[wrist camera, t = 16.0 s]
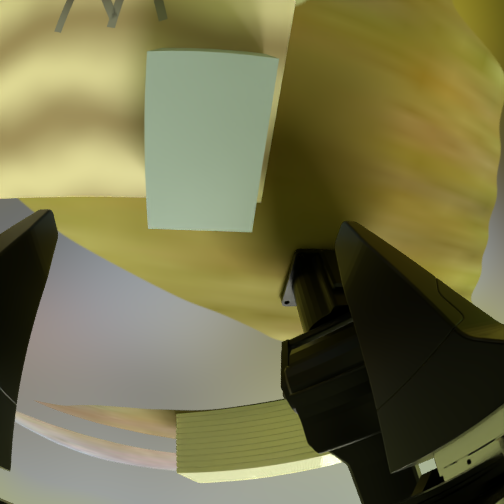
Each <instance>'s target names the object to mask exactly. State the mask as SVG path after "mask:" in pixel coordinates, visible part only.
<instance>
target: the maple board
mask: <svg viewBox="0 0 504 504" xmlns="http://www.w3.org/2000/svg"><path fill="white" fill-rule="evenodd" d="M295 3H296V0H0V199H1V198H30V197H146V180H145V81H146V61H147V51H151V50H155V49H160V48H209V49H225V50H237V51H247V52H256V53H264V54H267V55H270V56H273V57H276V58H278V59H279V63H278V69H277V76H276V82H275V88H274V94H273V101H272V107H271V113H270V120H269V126H268V132H267V139H266V145H265V152H264V158H263V164H262V171H261V177H260V184H259V190H258V196H257V202H258V203H261V199H262V194H263V188H264V182H265V176H266V171H267V165H268V159H269V153H270V147H271V142H272V136H273V130H274V124H275V119H276V113H277V107H278V101H279V95H280V90H281V84H282V78H283V72H284V67H285V61H286V55H287V49H288V43H289V38H290V32H291V26H292V20H293V15H294V9H295Z"/></svg>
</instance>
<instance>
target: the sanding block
mask: <svg viewBox="0 0 504 504" xmlns="http://www.w3.org/2000/svg"><path fill="white" fill-rule="evenodd" d="M278 63H279V59H278V58H276V57H273V56H270V55H267V54H264V53H256V52H247V51H237V50H225V49H209V48H160V49H155V50H151V51H147V61H146V81H145V180H146V201H147V217H148V229H176V230H207V231H234V232H252V229H253V222H254V216H255V209H256V203H257V196H258V190H259V184H260V177H261V171H262V164H263V158H264V152H265V145H266V139H267V132H268V126H269V120H270V113H271V107H272V101H273V94H274V88H275V82H276V76H277V69H278Z"/></svg>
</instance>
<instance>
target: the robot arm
mask: <svg viewBox="0 0 504 504" xmlns="http://www.w3.org/2000/svg"><path fill="white" fill-rule="evenodd" d="M57 239H58V231H57V227H56V223H55V219H54V215H53V212H52V211H51V210H49V209H44V210H38V211H37V212H35V213H33V214H32V215H30V216H28V217H27V218H25V219H24V220H22V221H20V222H19V223H17V224H15V225H14V226H12V227H11V228H9V229H8V230H6V231H4V232H3V233H1V234H0V468H2V469H5V470H7V471H10V468H11V454H12V439H13V430H14V421H15V413H16V404H17V398H18V392H19V386H20V381H21V375H22V370H23V365H24V361H25V356H26V352H27V347H28V343H29V339H30V335H31V331H32V328H33V324H34V320H35V317H36V313H37V310H38V307H39V303H40V300H41V297H42V294H43V291H44V288H45V284H46V281H47V278H48V274H49V270H50V266H51V262H52V258H53V254H54V250H55V246H56V243H57ZM301 254H302V256H299V255H301ZM281 302H282V305H283V306H297V309H298V313H299V317H300V320H301V324H302V328H303V332H304V334H301V335H299V336H297V337H295V338H293V339H290V340H286V341H283V342H282V351H281V389H282V390H283V397H284V399H286V400H287V401H288V403H289V405H290V407H291V408H292V410H293V411H294V412H295V413H296V414H298V416H299V418H300V420H301V423H302V427H303V430H304V433H305V437H306V440H307V443H308V444H309V446H310V447H311V448H313V449H314V450H315V451H316V452H317V453H318V454H322V453H325V452H329V453H331V454H332V455H334V456H335V457H336V458H338V459H339V460H341V461H342V462H344V463H345V464H346V465H347V466H348V468H349V471H350V473H351V476H352V479H353V481H354V484H355V487H356V489H357V492H358V495H359V498H360V500H361V503H362V504H504V324H501V323H499V322H498V321H496V320H494V319H493V318H492V317H490V316H489V315H488V314H486V313H485V312H483V311H482V310H481V309H479V308H478V307H476V306H475V305H473V304H472V303H471V302H469V301H468V300H466V299H465V298H464V297H462V296H461V295H459V294H458V293H456V292H455V291H454V290H452V289H451V288H450V287H448V286H447V285H446V284H444V283H443V282H442V281H440V280H439V279H438V278H436V277H435V276H433V275H432V274H431V273H429V272H428V271H427V270H425V269H424V268H423V267H421V266H420V265H418V264H417V263H416V262H414V261H413V260H411V259H410V258H409V257H407V256H406V255H404V254H403V253H401V252H400V251H399V250H397V249H396V248H394V247H393V246H391V245H390V244H388V243H387V242H385V241H384V240H383V239H381V238H380V237H378V236H377V235H375V234H374V233H372V232H371V231H369V230H368V229H366V228H365V227H363V226H362V225H360V224H358V223H357V222H353V221H344V222H343V223H342V225H341V227H340V230H339V233H338V236H337V239H336V242H335V250H313V249H299V250H297V251H295V253H294V256H293V260H292V263H291V267H290V270H289V274H288V278H287V281H286V285H285V288H284V292H283V295H282V298H281ZM432 458H434V459H435V463H436V466H437V468H436V469H434V470H431V471H430V472H427V473H425V474H423V475H421V472H420V468H419V466H418V464H419V463H422V462H424V461H427V460H429V459H432ZM0 504H13V503H10V502H8V501H5V500H3V499H1V498H0Z"/></svg>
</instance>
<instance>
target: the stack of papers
mask: <svg viewBox="0 0 504 504" xmlns="http://www.w3.org/2000/svg"><path fill="white" fill-rule="evenodd" d="M243 406H244V407H238V406H237V408H231V407H229V408H230V409H222V408H221V409H222V410H213V411H204V412H193V413H181V414H176V418H177V419H176V423H177V424H176V428H177V429H176V434H177V435H176V439H177V440H176V444H177V446H176V450H177V452H176V455H177V456H178V457H177V467H178V468H177V473H178V474H180V475H182V476H184V477H187V478H189V479H191V480H193V481H196V482H198V483H211V482H225V481H226V482H227V481H237V480H247V479H257V478H264V477H271V476H277V475H284V474H290V473H296V472H301V471H306V470H311V469H316V468H320V467H324V466H329V465H333V464H337V463H340V462H342V461H341V460H339V459H338V458H336V457H335V456H334V455H332V454H331V453H329V452H325V453H322V454H318V453H317V452H316V451H315V450H314V449H313V448H311V447H310V446H309V444H308V443H307V440H306V437H305V433H304V430H303V427H302V423H301V420H300V418H299V416H298V414H296V413H295V412H294V411H293V410H292V408H291V407H290V405H289V403H288V401H287V400H286V399H279V400H275V401H268V402H262V403H257V404H250V405H243Z"/></svg>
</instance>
